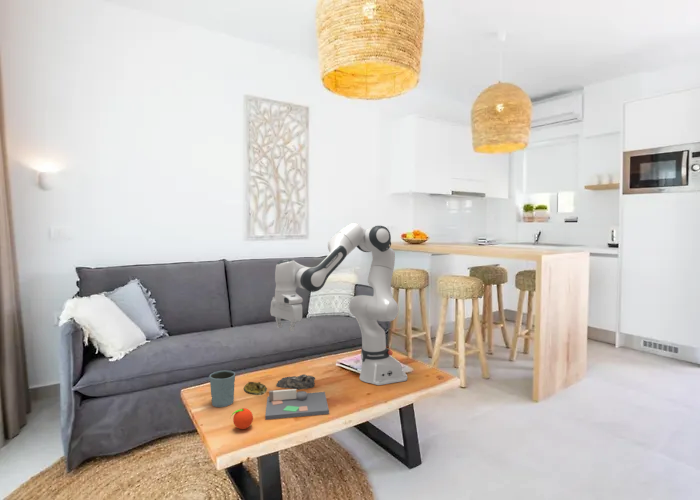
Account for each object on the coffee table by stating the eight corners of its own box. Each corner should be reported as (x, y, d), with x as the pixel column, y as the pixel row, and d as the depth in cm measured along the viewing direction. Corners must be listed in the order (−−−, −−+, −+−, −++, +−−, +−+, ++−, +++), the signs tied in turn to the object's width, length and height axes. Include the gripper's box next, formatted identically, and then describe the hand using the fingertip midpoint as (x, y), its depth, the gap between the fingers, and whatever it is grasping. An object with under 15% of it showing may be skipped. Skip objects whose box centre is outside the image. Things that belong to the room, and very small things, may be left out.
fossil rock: (322, 386, 185) (311, 376, 198) (322, 378, 185) (311, 368, 198) (282, 395, 177) (273, 383, 190) (281, 386, 177) (272, 375, 190)
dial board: (324, 395, 174) (324, 391, 174) (329, 413, 157) (328, 409, 157) (267, 399, 171) (267, 396, 171) (265, 419, 153) (265, 415, 153)
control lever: (306, 395, 170) (306, 386, 170) (307, 399, 166) (306, 390, 166) (269, 398, 168) (269, 389, 168) (269, 403, 164) (268, 393, 164)
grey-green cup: (209, 400, 172) (208, 372, 171) (234, 396, 176) (233, 368, 175) (211, 410, 162) (210, 380, 162) (237, 405, 166) (236, 376, 166)
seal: (239, 389, 186) (253, 400, 174) (237, 380, 185) (251, 389, 173) (257, 382, 191) (272, 391, 180) (256, 373, 191) (271, 381, 179)
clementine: (231, 435, 142) (231, 415, 142) (229, 426, 148) (228, 407, 148) (255, 430, 145) (254, 410, 145) (251, 421, 152) (250, 403, 151)
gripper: (266, 295, 181) (266, 326, 181) (292, 300, 165) (292, 334, 166) (279, 294, 185) (279, 324, 185) (305, 299, 170) (305, 332, 170)
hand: (285, 329), depth 175 cm, fingers open, 8 cm apart
